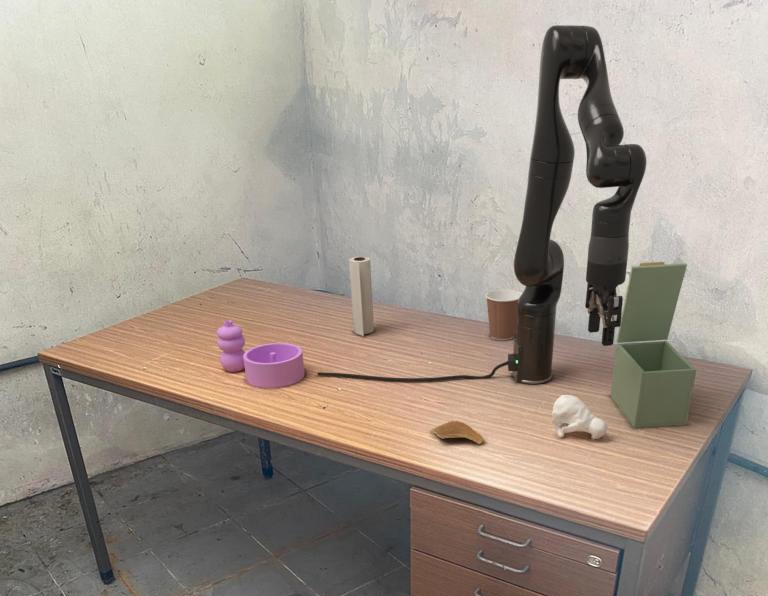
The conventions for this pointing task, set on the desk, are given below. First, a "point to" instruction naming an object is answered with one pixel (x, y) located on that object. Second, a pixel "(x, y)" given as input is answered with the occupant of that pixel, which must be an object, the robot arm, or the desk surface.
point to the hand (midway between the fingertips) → (600, 338)
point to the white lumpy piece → (576, 417)
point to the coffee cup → (502, 313)
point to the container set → (260, 359)
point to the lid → (650, 301)
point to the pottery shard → (457, 431)
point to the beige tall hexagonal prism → (361, 295)
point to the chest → (652, 384)
